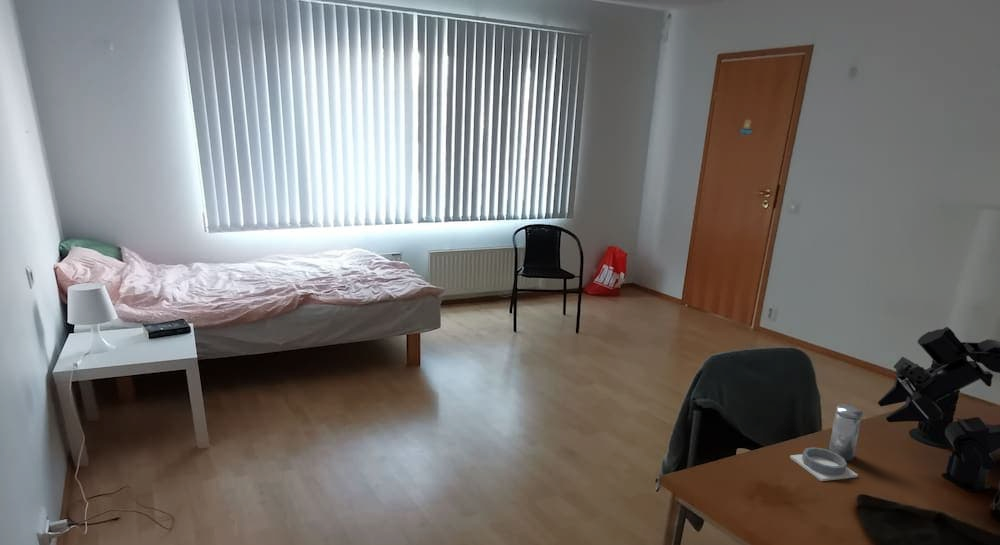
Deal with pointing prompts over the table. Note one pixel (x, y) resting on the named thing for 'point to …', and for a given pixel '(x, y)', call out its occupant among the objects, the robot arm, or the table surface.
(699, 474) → the table surface
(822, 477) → the flange collar
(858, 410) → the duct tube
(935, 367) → the handle grip
